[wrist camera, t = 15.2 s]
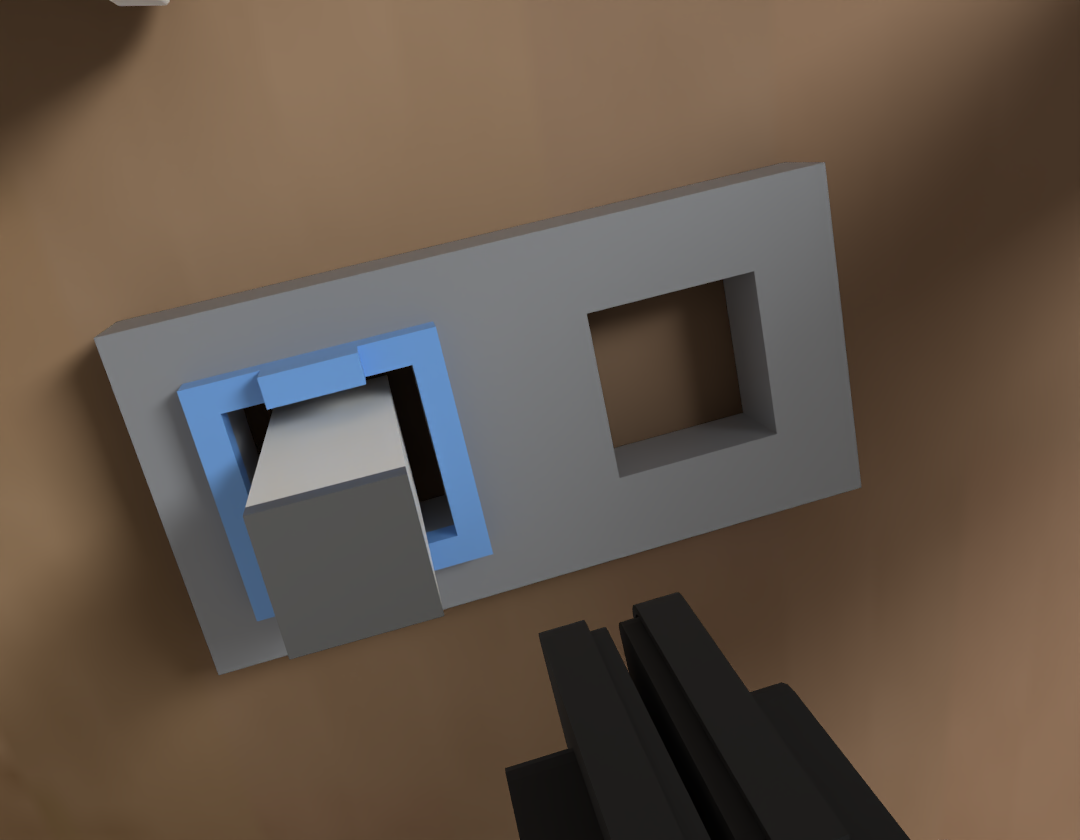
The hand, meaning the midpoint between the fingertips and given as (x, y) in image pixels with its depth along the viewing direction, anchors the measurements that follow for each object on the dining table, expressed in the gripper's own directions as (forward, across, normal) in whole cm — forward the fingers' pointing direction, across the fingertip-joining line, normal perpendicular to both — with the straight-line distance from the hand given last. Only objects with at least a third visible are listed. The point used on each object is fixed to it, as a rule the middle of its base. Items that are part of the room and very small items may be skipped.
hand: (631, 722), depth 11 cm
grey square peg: (+24, +5, +3) cm, 24 cm away
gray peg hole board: (+24, -1, +3) cm, 24 cm away
